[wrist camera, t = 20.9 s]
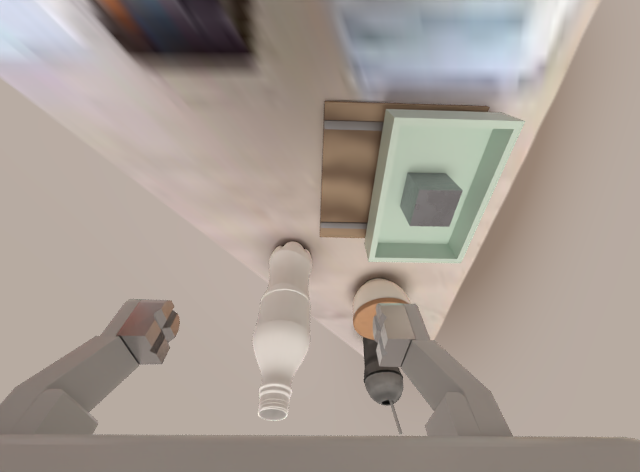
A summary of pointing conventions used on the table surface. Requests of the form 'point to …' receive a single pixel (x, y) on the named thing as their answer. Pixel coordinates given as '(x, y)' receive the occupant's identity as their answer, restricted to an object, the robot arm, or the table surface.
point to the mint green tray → (436, 157)
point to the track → (356, 161)
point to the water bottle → (282, 328)
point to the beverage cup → (381, 379)
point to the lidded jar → (374, 303)
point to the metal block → (429, 199)
